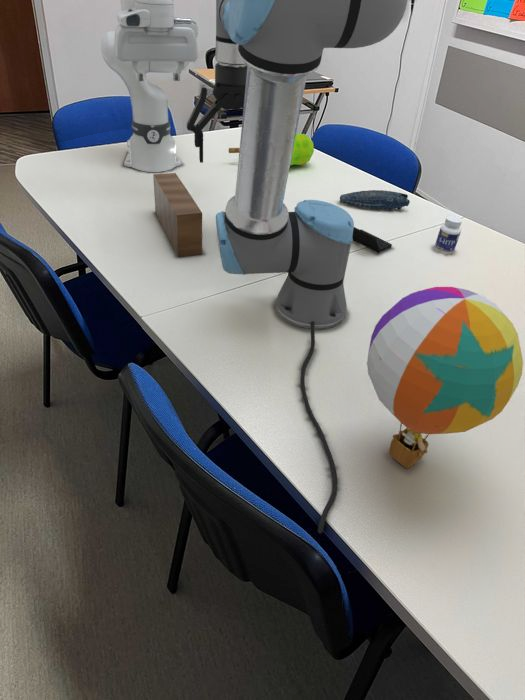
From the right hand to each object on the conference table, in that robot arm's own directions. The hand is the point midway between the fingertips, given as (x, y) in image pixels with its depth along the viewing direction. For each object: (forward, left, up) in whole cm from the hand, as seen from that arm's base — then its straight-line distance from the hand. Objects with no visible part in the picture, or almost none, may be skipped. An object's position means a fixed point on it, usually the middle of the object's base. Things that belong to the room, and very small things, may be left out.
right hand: (229, 161), depth 127 cm
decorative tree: (+56, -4, -19) cm, 60 cm away
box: (-3, +13, -19) cm, 23 cm away
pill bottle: (+8, -58, -19) cm, 62 cm away
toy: (-69, -43, -19) cm, 83 cm away
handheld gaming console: (+4, -37, -19) cm, 42 cm away
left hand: (+16, +22, +13) cm, 30 cm away
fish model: (+31, -39, -19) cm, 54 cm away
